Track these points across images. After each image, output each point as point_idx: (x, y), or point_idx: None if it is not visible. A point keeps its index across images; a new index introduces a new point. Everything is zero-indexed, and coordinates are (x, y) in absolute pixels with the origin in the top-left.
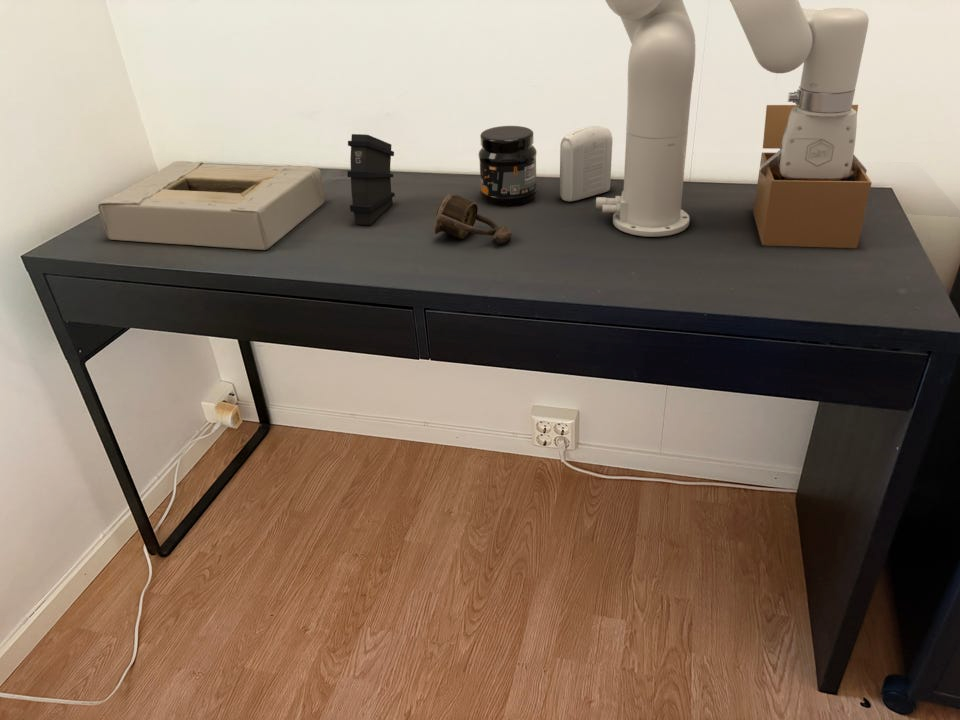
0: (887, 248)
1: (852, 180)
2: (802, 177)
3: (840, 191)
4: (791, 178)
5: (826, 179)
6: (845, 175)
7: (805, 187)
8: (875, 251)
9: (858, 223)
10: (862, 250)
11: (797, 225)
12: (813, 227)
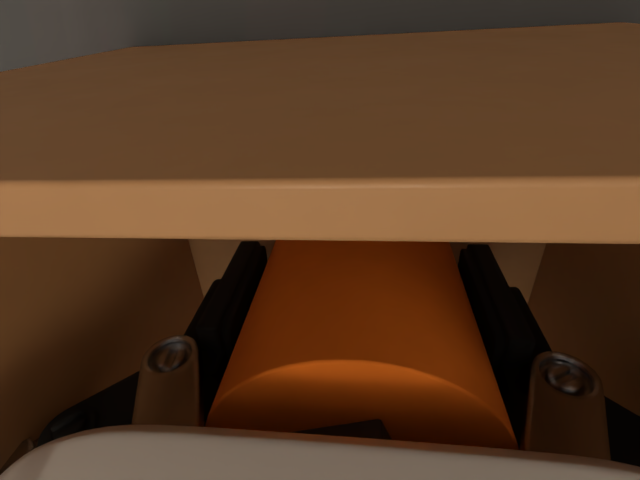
0: (7, 66)
1: (50, 433)
2: (496, 465)
3: (26, 117)
4: (613, 463)
5: (229, 430)
6: (27, 460)
7: (631, 122)
8: (45, 18)
9: (56, 64)
10: (103, 24)
11: (465, 41)
12: (348, 46)
